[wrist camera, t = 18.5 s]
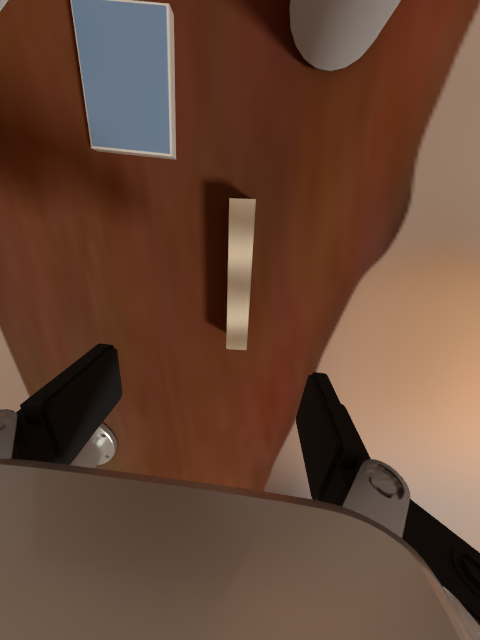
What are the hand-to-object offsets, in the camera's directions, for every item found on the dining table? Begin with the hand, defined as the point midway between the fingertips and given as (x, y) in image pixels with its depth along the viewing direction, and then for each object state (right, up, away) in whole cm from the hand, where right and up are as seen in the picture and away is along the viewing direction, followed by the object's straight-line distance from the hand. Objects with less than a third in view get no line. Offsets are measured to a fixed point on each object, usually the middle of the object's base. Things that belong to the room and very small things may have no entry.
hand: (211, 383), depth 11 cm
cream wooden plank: (+1, +8, +16) cm, 19 cm away
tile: (-9, +20, +12) cm, 25 cm away
